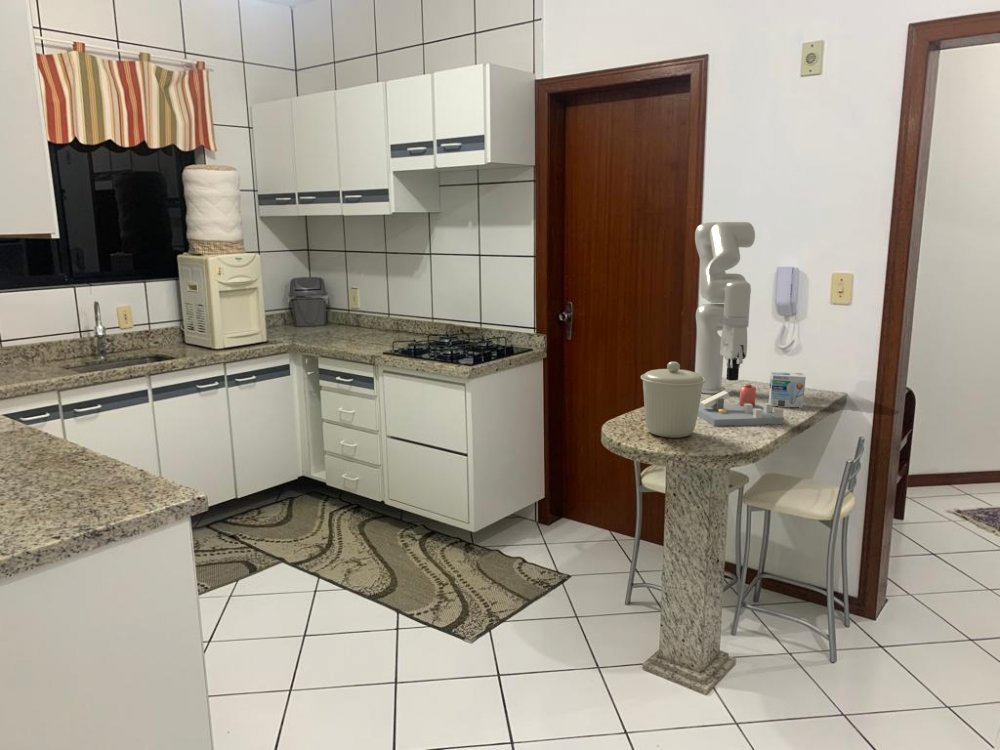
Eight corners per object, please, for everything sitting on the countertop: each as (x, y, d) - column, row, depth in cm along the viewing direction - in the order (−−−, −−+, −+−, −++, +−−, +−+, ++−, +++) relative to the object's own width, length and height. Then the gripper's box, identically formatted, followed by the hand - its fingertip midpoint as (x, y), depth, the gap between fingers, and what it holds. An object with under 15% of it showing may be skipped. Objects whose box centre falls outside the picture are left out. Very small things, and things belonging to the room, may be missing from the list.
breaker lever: (701, 406, 244) (700, 401, 243) (729, 392, 244) (728, 388, 243) (706, 408, 240) (704, 404, 240) (734, 395, 240) (732, 390, 240)
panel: (690, 411, 248) (691, 392, 247) (754, 409, 251) (756, 391, 250) (713, 426, 230) (715, 406, 229) (783, 424, 233) (784, 404, 232)
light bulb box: (769, 406, 255) (772, 374, 253) (767, 402, 262) (770, 371, 260) (803, 408, 253) (806, 376, 251) (801, 404, 259) (803, 372, 257)
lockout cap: (736, 403, 250) (738, 383, 249) (750, 403, 250) (752, 383, 249) (743, 407, 245) (744, 386, 244) (757, 406, 246) (758, 386, 245)
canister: (709, 430, 225) (714, 360, 221) (691, 445, 209) (695, 369, 205) (650, 422, 234) (653, 354, 230) (629, 436, 218) (631, 363, 214)
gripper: (714, 319, 244) (711, 375, 248) (734, 324, 230) (730, 384, 233) (737, 319, 245) (733, 375, 249) (758, 324, 231) (754, 384, 234)
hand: (732, 379), depth 241 cm, fingers closed
